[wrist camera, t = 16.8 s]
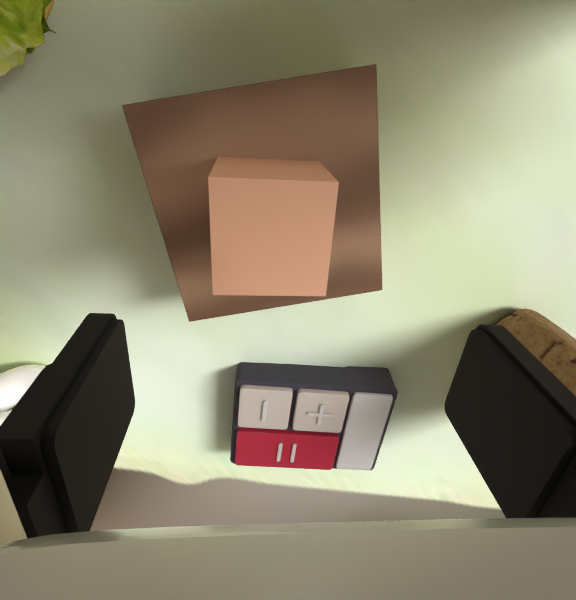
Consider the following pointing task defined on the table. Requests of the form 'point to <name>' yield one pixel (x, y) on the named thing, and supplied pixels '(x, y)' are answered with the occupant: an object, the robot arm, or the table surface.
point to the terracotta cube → (271, 226)
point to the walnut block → (264, 145)
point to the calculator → (310, 415)
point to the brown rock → (545, 343)
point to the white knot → (15, 386)
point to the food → (21, 30)
